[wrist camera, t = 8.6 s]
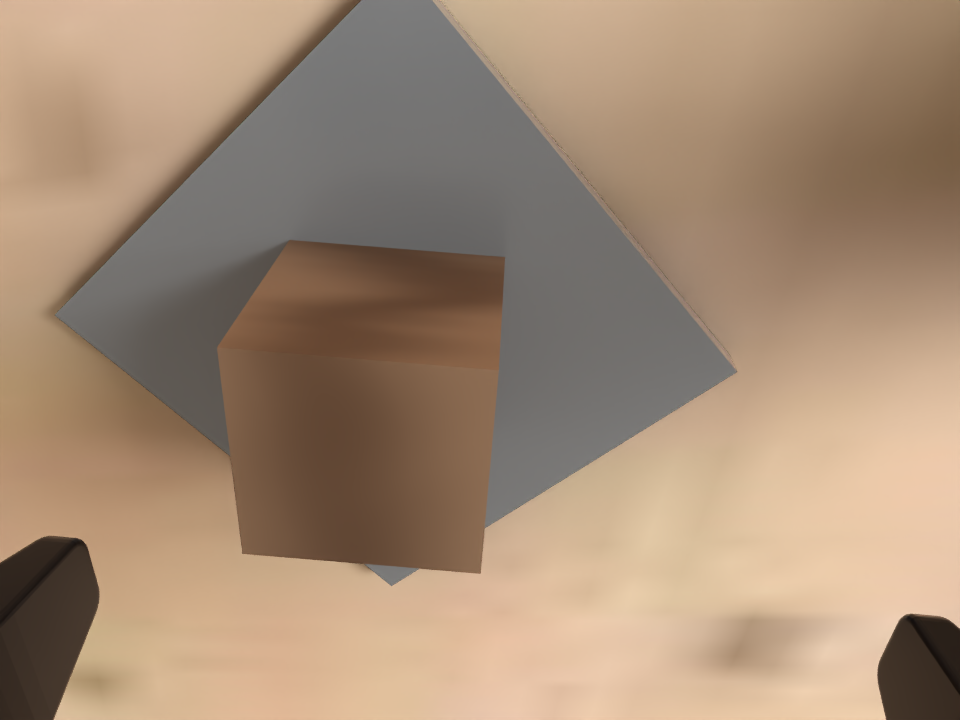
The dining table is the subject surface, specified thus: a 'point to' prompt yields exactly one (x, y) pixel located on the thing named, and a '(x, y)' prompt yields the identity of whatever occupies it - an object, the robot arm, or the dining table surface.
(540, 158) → the plate
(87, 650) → the dining table surface
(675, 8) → the dining table surface
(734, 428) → the dining table surface
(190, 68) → the dining table surface
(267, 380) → the walnut cube
